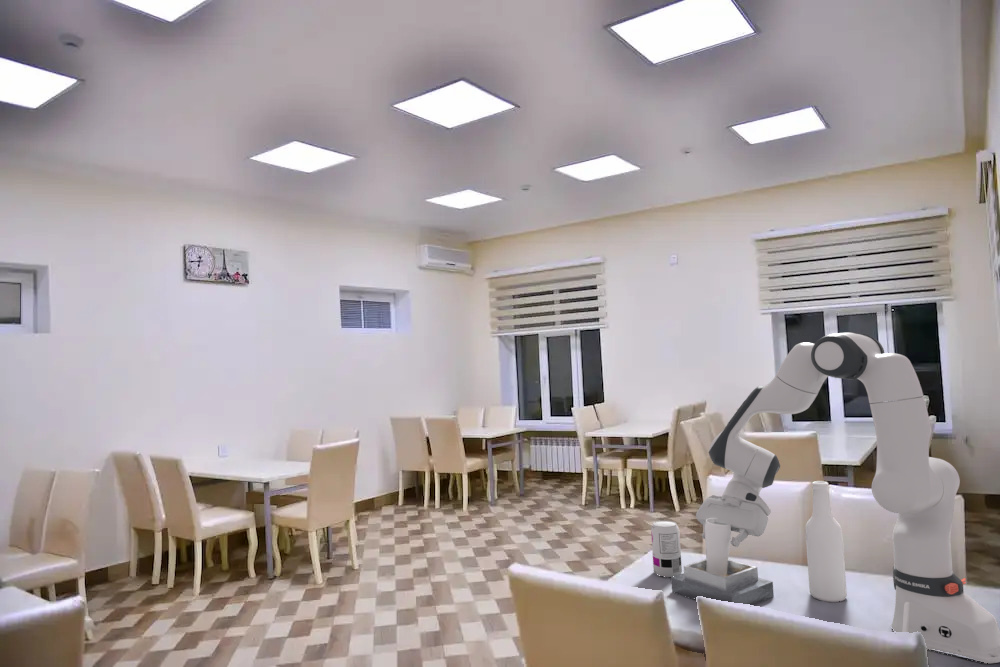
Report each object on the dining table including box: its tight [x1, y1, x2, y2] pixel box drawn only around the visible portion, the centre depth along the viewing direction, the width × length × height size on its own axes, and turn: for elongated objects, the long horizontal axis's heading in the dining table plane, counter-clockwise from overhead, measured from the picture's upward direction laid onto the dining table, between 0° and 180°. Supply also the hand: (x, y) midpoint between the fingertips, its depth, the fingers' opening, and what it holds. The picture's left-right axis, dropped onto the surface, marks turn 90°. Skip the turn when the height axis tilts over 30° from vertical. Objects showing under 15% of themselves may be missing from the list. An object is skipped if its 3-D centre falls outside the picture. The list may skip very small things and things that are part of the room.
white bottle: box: [804, 480, 848, 603], centre depth 171 cm, size 9×9×30 cm
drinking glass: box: [704, 518, 732, 577], centre depth 177 cm, size 7×7×15 cm
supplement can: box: [650, 520, 683, 578], centre depth 194 cm, size 8×8×15 cm
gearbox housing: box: [670, 558, 775, 606], centre depth 175 cm, size 20×17×8 cm
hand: (719, 541), depth 176 cm, fingers open, 8 cm apart
